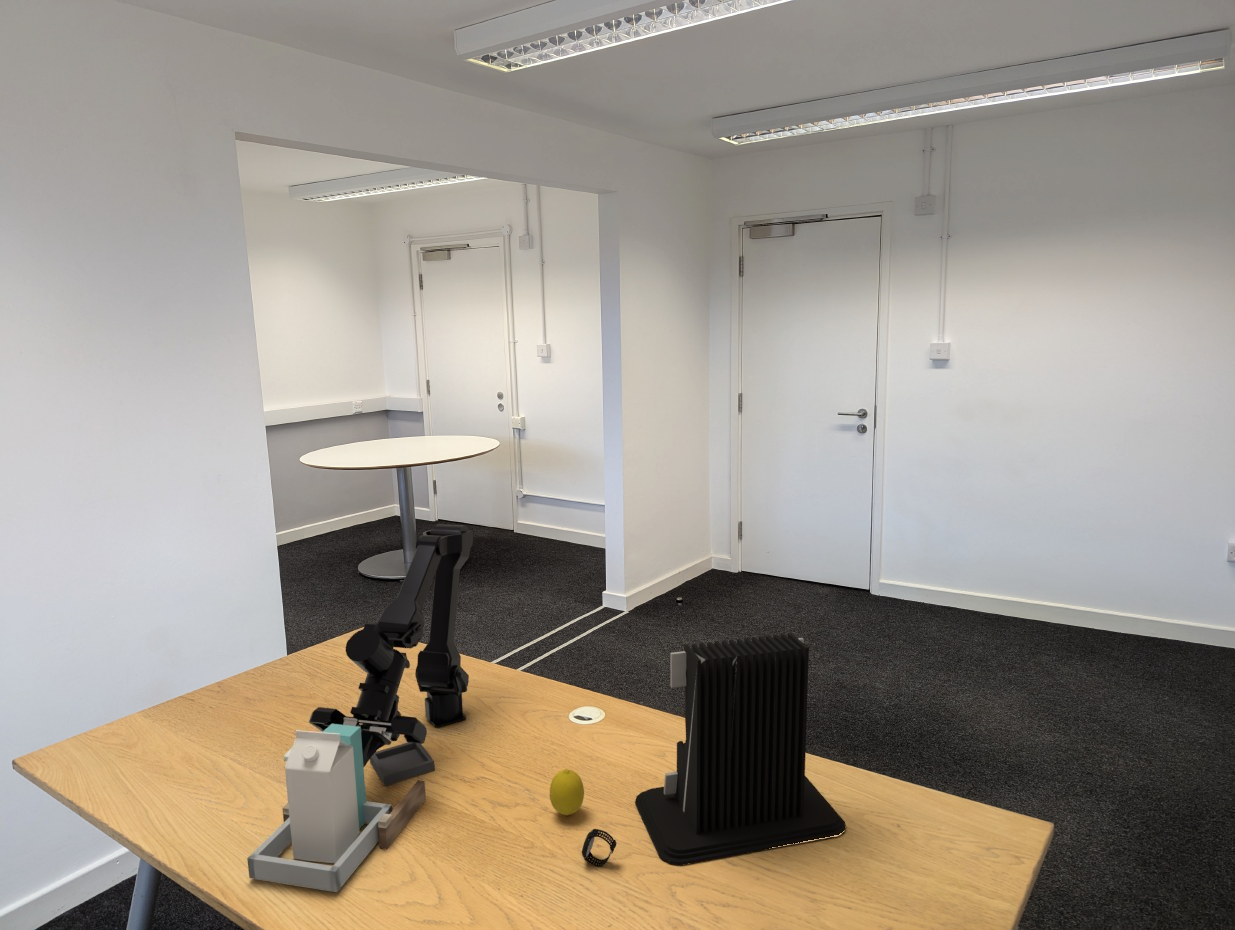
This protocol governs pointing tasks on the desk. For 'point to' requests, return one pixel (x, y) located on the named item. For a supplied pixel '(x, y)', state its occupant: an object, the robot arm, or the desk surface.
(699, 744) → the black ribbed block
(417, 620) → the robot arm
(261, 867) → the tray
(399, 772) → the tray
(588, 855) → the smartwatch
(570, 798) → the lemon
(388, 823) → the channel
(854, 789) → the desk surface
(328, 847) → the milk carton
